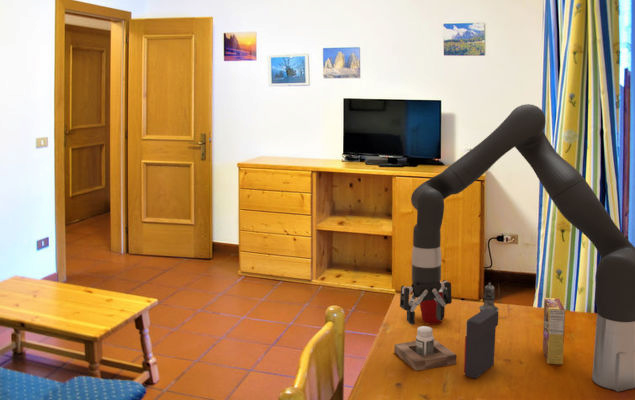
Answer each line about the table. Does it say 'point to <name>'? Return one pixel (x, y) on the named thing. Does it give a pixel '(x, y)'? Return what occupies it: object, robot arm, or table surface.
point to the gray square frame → (425, 356)
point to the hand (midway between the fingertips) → (425, 321)
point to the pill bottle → (424, 341)
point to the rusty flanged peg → (489, 299)
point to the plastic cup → (430, 310)
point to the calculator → (480, 342)
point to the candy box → (553, 330)
